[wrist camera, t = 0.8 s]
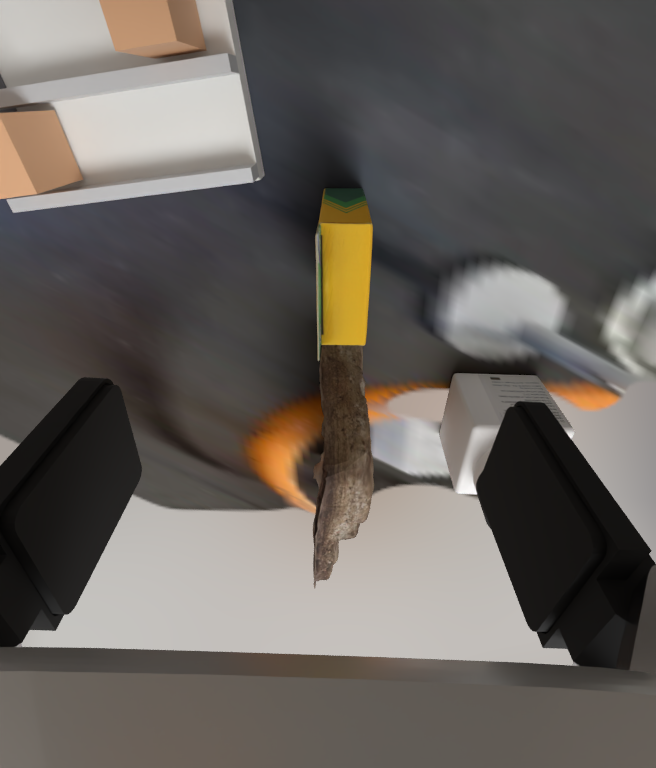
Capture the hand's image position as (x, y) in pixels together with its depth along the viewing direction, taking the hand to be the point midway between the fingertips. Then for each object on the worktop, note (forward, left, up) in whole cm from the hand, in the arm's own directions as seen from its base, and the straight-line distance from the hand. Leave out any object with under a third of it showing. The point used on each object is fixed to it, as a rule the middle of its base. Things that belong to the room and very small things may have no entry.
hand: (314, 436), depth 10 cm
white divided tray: (+13, -11, -24) cm, 29 cm away
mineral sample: (+2, +17, -24) cm, 30 cm away
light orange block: (+18, -6, -22) cm, 28 cm away
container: (-12, +19, -24) cm, 33 cm away
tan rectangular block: (+8, -12, -22) cm, 26 cm away
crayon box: (0, +2, -24) cm, 24 cm away
